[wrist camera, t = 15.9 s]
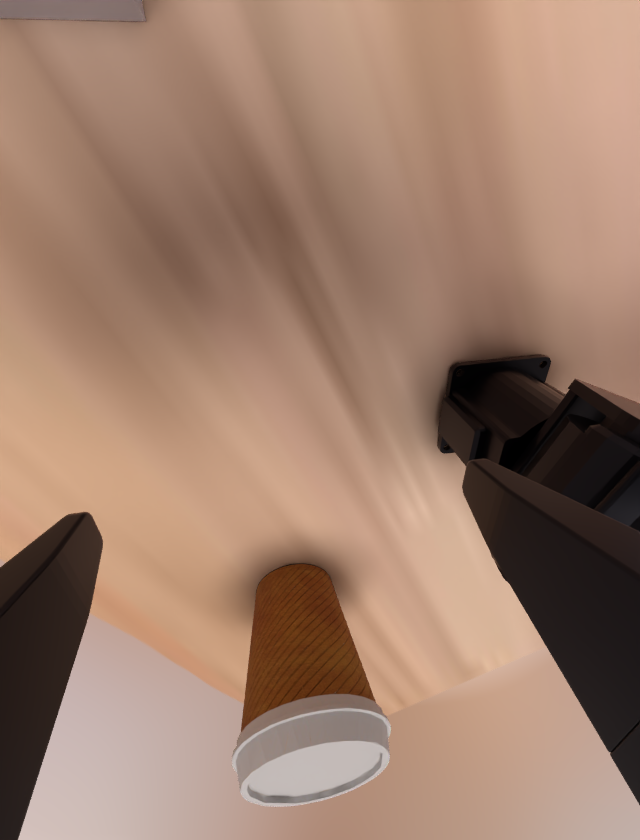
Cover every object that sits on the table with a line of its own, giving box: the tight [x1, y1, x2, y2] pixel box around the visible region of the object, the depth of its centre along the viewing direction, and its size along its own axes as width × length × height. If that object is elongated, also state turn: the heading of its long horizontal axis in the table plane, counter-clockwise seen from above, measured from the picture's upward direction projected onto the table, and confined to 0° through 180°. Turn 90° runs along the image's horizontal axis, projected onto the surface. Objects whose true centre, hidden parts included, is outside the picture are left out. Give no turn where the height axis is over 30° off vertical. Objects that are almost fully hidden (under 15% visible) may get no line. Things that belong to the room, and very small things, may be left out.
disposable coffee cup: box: [232, 564, 391, 807], centre depth 26 cm, size 10×10×12 cm
